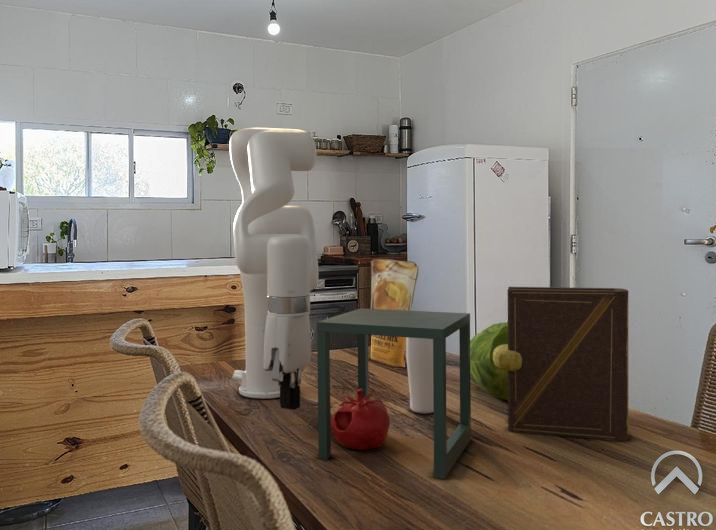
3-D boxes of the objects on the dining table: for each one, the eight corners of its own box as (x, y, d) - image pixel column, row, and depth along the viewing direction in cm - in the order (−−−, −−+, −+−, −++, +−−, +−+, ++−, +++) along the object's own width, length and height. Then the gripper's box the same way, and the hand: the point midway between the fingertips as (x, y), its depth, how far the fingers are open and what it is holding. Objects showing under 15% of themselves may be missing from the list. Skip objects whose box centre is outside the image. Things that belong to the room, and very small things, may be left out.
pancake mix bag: (381, 354, 173) (380, 258, 173) (421, 367, 157) (420, 260, 156) (361, 357, 170) (360, 259, 169) (400, 370, 153) (399, 261, 153)
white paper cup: (441, 416, 114) (440, 338, 114) (405, 414, 116) (404, 337, 115) (441, 406, 121) (440, 332, 120) (407, 404, 122) (406, 331, 122)
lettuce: (480, 410, 139) (514, 353, 144) (545, 421, 117) (582, 354, 122) (427, 366, 137) (463, 310, 142) (483, 370, 115) (523, 303, 120)
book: (623, 428, 106) (623, 287, 105) (631, 444, 98) (631, 292, 97) (494, 417, 113) (493, 285, 113) (492, 431, 105) (491, 290, 105)
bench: (318, 458, 94) (316, 321, 93) (361, 424, 110) (360, 308, 109) (444, 479, 85) (443, 329, 85) (470, 439, 101) (470, 313, 101)
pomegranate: (385, 432, 105) (385, 380, 105) (394, 453, 95) (394, 395, 95) (329, 434, 105) (328, 381, 105) (332, 455, 95) (331, 397, 95)
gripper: (290, 299, 114) (291, 394, 115) (248, 310, 101) (249, 417, 101) (325, 301, 111) (326, 398, 112) (287, 312, 97) (288, 423, 98)
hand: (290, 407), depth 107 cm, fingers closed
